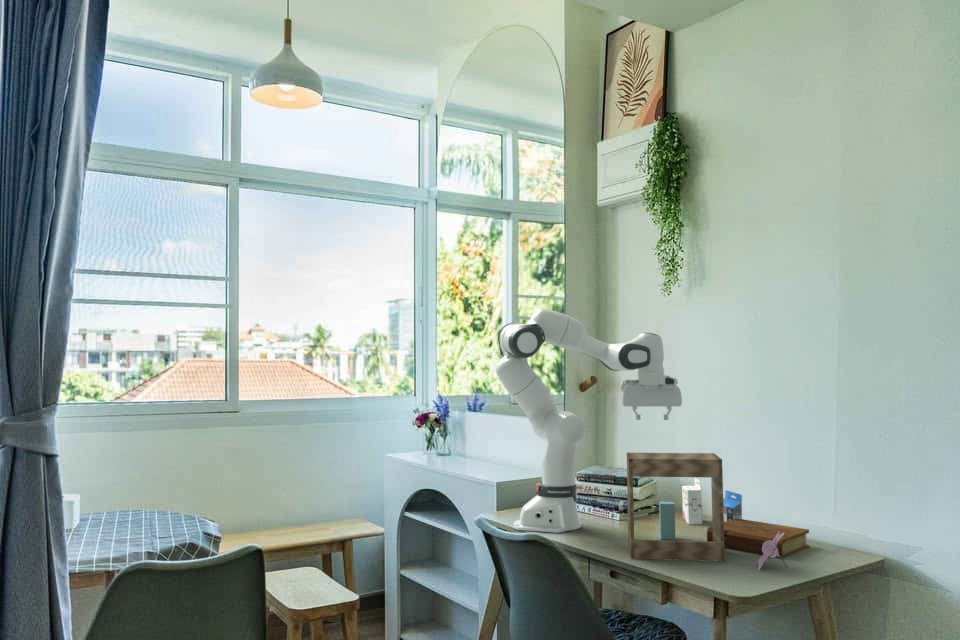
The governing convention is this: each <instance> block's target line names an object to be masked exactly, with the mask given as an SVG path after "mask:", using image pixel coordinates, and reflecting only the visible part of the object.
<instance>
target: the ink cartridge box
mask: <svg viewBox="0 0 960 640" xmlns="http://www.w3.org/2000/svg"><path fill="white" fill-rule="evenodd" d="M693 478H694V479H693V480H694V485H682V486H681V497H682V520H683V519H684V520H685V521H686V522H685V521H684V520H683V521H684V522H685V523H686V524H687V525H689V524H690V525H703V505H702V504H703V502H702V499H703V498H702V485H701V481H700V480H699V479H698V477H693Z"/></svg>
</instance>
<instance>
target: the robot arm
mask: <svg viewBox="0 0 960 640" xmlns="http://www.w3.org/2000/svg"><path fill="white" fill-rule="evenodd" d="M586 331H587V330H586V326H585V324H584V323H583V322H581V321H580V320H578V319H576V318H575V317H573V316H570V315H568V314H566V313H562V312H559V311H557V310H553V309H548V308H539V309H536V310H535V311H534V312H533V313H532V314H531V316H530V318H529V321H528V322H527V323H520V322H510V323H507V324H505V325H503V326H502V327H501V329H500V330H499V332H498V335H497V342H498V345H499V353H500V355H501V356H502V358H501V359H499V361H498V362H497V364H496V367H495V372H496V375H497V377H498V379H499V380H500V382H501V384H502V386H503V387H504V388H505V389H506V391H507V392H508V394H509V395H510V396H511V398H513V400H514V401H515V402H516V403H517V405H518V406H519V407H520V408H521V410H522V411H523V412H524V414H525V415H526V417H527V419H528V421H529V423H530V424H531V425H532V428H533V431H534V433H535V434H536V435H537V436H538V437H539V438H541V439H542V440H544V441H546V442H547V448H546V452H545V455H544V457H543V459H542V462H541V467H542V469H541V479H542V480H541V481H542V483H540V482H538V483H536V484H535V489H536V495H535V496H534V497H533V498H531V499H530V500H529V501H528V502H526V503H525V504H524V505H523V506H522V508H521V511H520V515H519V519H517V520H515V521H514V522H513V529H515V530H517V531H527V532H528V531H531V532H543V533H545V532H546V533H556V534H557V533H559V534H560V533H564V532H567V531H575V530H578V529H580V528H581V527H582V525H581V523H580V518H579V514H578V506H577V500H578V488H577V483H576V457H577V454H578V453H577V452H578V448H579V444H580V441H581V440H582V439H583V437H584V435H585V432H586V428H585V423H584V421H583V420H582V418H581V417H579V416H578V415H576V414H575V413H573V412H571V411H565V410H561V409H560V408H558V406H557V405H556V404H555V402H554V400H553V398H552V395H551V391H550V389H549V388H548V387H547V385H546V384H545V383H544V382H543V381H542V379H541V378H540V377H539V375H537V373H536V372H535V371H534V370H533V369H532V368H531V366H530V364H529V361H528V358H531V357H533V356H534V355H536V353H538V351H539V349H540V348H541V347H542V345H544V343H548V344H550V345H553V346H554V347H555V346H556V347H558V348H561V349H564V350H570V351H577V352H581V353H583V354H585V355H588V356H590V357H592V358H595V359H597V360H598V361H599V362H600V363H601V364H602V365H603V366H605V368H607V369H608V370H609V371H613V372H619V371H634V370H637V374H638V375H637V376H638V377H637V378H638V379H625V380H623V381H622V382H621V384H620V390H621V392H622V396H621V398H622V400H621V401H622V402H621V404H622V405H623V407H632V411H633V413H634V414H635V420H636V421H640V420H641V413H640V414H638V413H637V411H636V410H638V407H639V408H641V407H649V408H650V407H656V408H657V407H666V410H667V412H666V413H665V414H663V420H664V421H668V420H669V415H670V413H671V411H672V407H681V406H682V404H683V399H682V398H683V397H682V392H681V388H680V387H679V386H678V380H679V379H677V378H675V377H673V376H669V375H665V369H664V360H665V359H664V357H665V356H664V354H665V353H664V343H663V339H662V337H661V336H660V335H658V334H656V333H652V332H641V333H639V334H638V335H637V336H636V337H635V338H633V339H630V340H628V341H626V342H609V343H608V342H604V341H601V340H599V339H597V338H595V337H592V336H590V335H589V334H587V332H586Z"/></svg>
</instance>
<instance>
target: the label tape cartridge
mask: <svg viewBox="0 0 960 640" xmlns="http://www.w3.org/2000/svg"><path fill="white" fill-rule="evenodd" d="M724 491H725V492H724V493H725V495H724V496H725V497H723V512H724V522H727V521H730V520H733V519H736V518H737V519H743V512H742V511H743V503H742V501H743V497H742V496H743V495H742V494H740V493H737V492H734V491H730V490H724ZM732 496H733V497H732Z"/></svg>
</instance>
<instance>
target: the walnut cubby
mask: <svg viewBox="0 0 960 640" xmlns="http://www.w3.org/2000/svg"><path fill="white" fill-rule="evenodd" d="M723 474H724V473H723V458H721V457H720V456H718V455H717V454H715V452H714V453H713V452H709V453H708V452H626V481H627V483H626V486H627V487H626V488H627V493H626V494H627V531H628V533H627V535H628V538H627V539H628V541H627V542H628V550H629V556H630V559H634V560H635V559H637V560H638V559H639V560H664V559H672V560H673V561H675V560H674V559H677V560H676V561H679V560H678V559H681V560H680V561H700V560H717V561H716V562H725V560H726V559H725V557H726V556H725V551H726V550H725V548H724V512H723V499H724V483H723V481H724V479H723ZM634 477H637V478H638V477H641V478H642V477H643V478H644V477H645V478H646V477H647V478H653V477H654V478H694V477H695V478H710V479H711V481H710V482H711V519H712V523H711V527H713V542H707V540H706V541H704V540H703V541H700V540H699V541H698V540H697V541H696V540H661V539H657V540H656V539H635V519H634V518H635V517H634V515H635V512H634V511H635V510H634V506H635V505H634Z"/></svg>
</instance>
